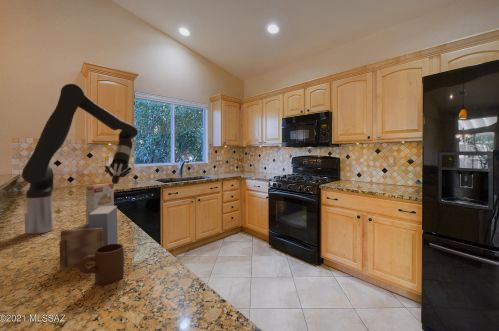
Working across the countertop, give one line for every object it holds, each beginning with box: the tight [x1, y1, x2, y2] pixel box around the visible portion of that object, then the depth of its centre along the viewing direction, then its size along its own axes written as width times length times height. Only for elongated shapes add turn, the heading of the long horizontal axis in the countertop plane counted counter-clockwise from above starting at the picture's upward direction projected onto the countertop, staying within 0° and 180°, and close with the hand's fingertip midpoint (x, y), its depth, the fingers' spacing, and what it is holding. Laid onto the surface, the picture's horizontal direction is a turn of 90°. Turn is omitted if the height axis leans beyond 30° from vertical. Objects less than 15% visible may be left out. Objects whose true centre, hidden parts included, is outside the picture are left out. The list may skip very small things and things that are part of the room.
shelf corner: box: [58, 221, 103, 269], centre depth 93 cm, size 12×32×12 cm, turn 16°
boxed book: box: [88, 205, 119, 246], centre depth 92 cm, size 6×14×16 cm, turn 17°
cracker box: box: [85, 182, 115, 223], centre depth 133 cm, size 14×6×21 cm, turn 168°
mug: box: [77, 243, 125, 285], centre depth 69 cm, size 12×8×9 cm, turn 149°
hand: (114, 183), depth 116 cm, fingers closed
